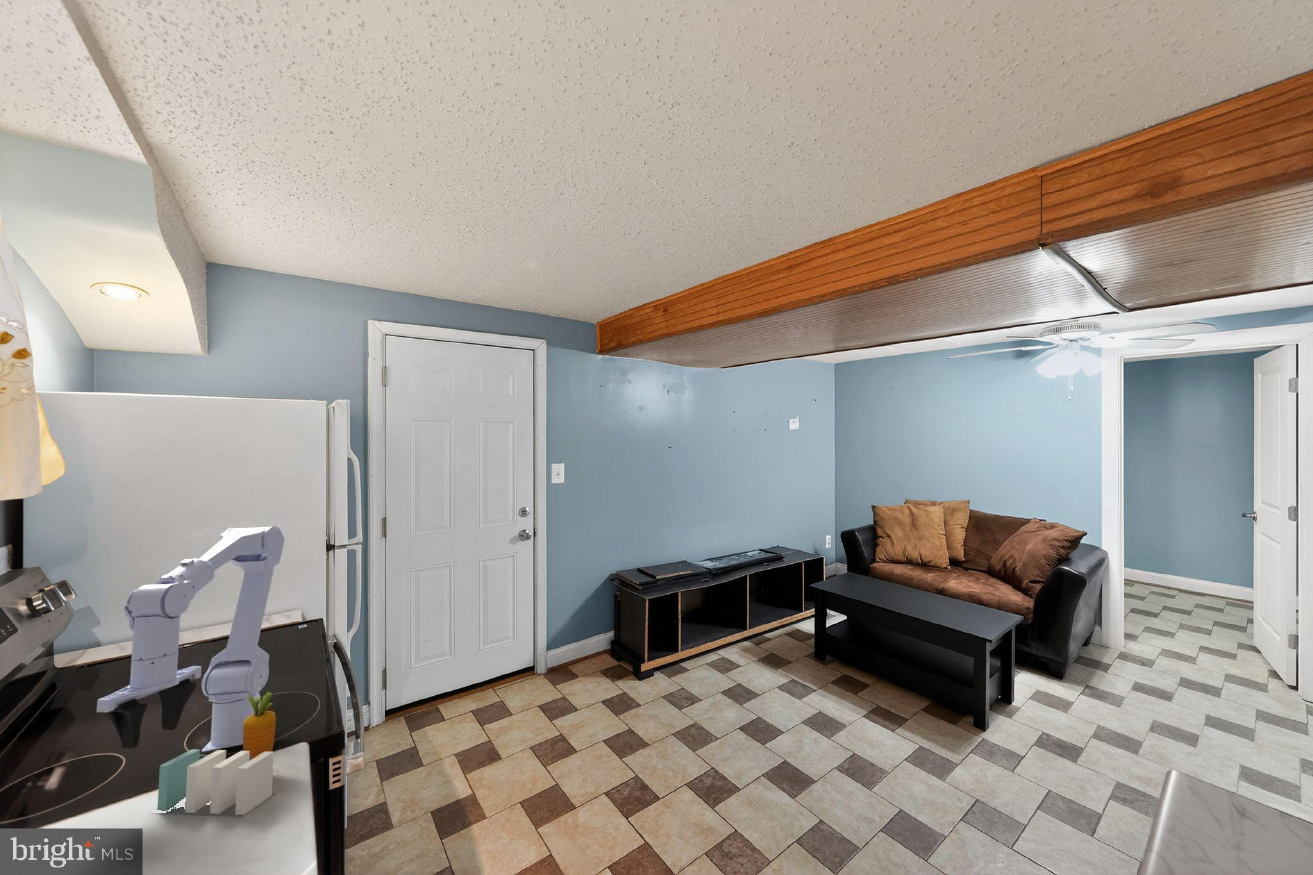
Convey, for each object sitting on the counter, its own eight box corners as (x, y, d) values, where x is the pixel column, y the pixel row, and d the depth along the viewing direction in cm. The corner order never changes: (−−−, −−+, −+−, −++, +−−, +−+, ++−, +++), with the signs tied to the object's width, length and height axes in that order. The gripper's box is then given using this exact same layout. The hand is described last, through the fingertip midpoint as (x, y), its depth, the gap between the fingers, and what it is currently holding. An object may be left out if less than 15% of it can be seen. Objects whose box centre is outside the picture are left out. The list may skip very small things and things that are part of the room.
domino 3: (235, 814, 79) (237, 768, 80) (263, 794, 84) (265, 751, 85) (244, 814, 79) (246, 768, 80) (271, 795, 84) (273, 751, 85)
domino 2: (209, 813, 80) (212, 767, 80) (239, 794, 84) (241, 750, 85) (218, 813, 79) (221, 767, 80) (247, 794, 84) (249, 750, 85)
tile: (157, 811, 81) (159, 765, 81) (189, 792, 86) (191, 749, 86) (165, 811, 80) (168, 765, 81) (197, 792, 85) (200, 749, 86)
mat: (150, 815, 80) (150, 812, 80) (188, 792, 86) (188, 790, 86) (242, 819, 78) (242, 817, 78) (275, 796, 84) (275, 793, 84)
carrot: (233, 784, 88) (237, 695, 90) (266, 769, 93) (269, 685, 94) (247, 791, 86) (251, 700, 87) (280, 776, 90) (283, 690, 92)
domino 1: (184, 812, 80) (187, 766, 81) (215, 793, 85) (217, 749, 86) (193, 812, 80) (196, 766, 81) (223, 793, 85) (226, 750, 85)
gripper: (126, 670, 78) (120, 761, 77) (217, 641, 93) (213, 718, 91) (87, 670, 79) (81, 760, 78) (183, 641, 93) (179, 717, 92)
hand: (150, 737), depth 85 cm, fingers open, 5 cm apart
